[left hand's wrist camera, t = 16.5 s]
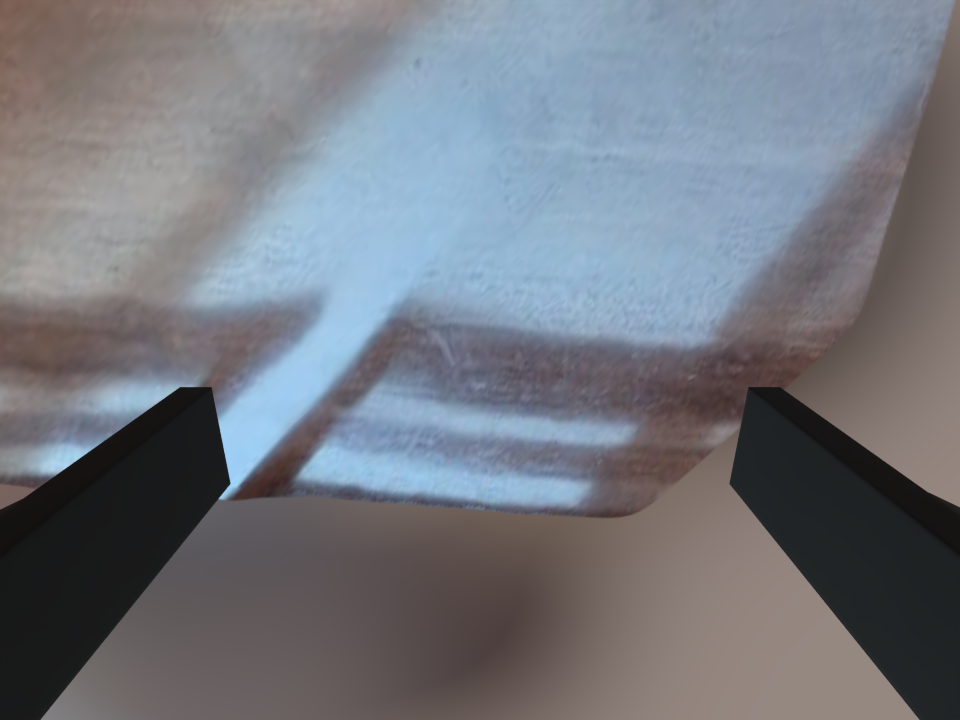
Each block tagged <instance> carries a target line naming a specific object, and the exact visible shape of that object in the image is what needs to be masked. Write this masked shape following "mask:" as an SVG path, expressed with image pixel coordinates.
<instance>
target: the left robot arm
mask: <svg viewBox="0 0 960 720" xmlns="http://www.w3.org/2000/svg"><path fill="white" fill-rule="evenodd" d="M229 485H230V479H229V474H228V469H227V463H226V458H225V453H224V448H223V443H222V438H221V433H220V428H219V423H218V418H217V413H216V408H215V403H214V398H213V393H212V388H211V387H180V388H178V389H177V390H176V391H174V392H173V393H171V394H170V395H168V396H167V397H166V398H164V399H163V400H161V401H160V402H159V403H157V404H156V405H154V406H153V407H152V408H150V409H149V410H147V411H146V412H145V413H143V414H142V415H140V416H139V417H138V418H136V419H135V420H133V421H132V422H131V423H129V424H128V425H126V426H125V427H123V428H122V429H121V430H119V431H118V432H116V433H115V434H114V435H112V436H111V437H109V438H108V439H107V440H105V441H104V442H102V443H101V444H100V445H98V446H97V447H95V448H94V449H93V450H91V451H90V452H88V453H87V454H85V455H84V456H83V457H81V458H80V459H78V460H77V461H76V462H74V463H73V464H71V465H70V466H69V467H67V468H66V469H64V470H63V471H62V472H60V473H59V474H57V475H56V476H55V477H53V478H52V479H50V480H49V481H47V482H46V483H45V484H43V485H42V486H40V487H39V488H38V489H36V490H35V491H33V492H32V493H31V494H29V495H28V496H26V497H25V498H24V499H21V500H19V501H17V502H15V503H13V504H11V505H9V506H7V507H5V508H3V509H1V510H0V720H41V718H42V717H43V716H44V715H45V713H46V712H47V711H48V710H49V708H50V707H51V706H52V705H53V703H54V702H55V701H56V700H57V698H58V697H59V696H60V695H61V693H62V692H63V691H64V690H65V689H66V687H67V686H68V685H69V684H70V682H71V681H72V680H73V679H74V677H75V676H76V675H77V674H78V672H79V671H80V670H81V669H82V667H83V666H84V665H85V664H86V662H87V661H88V660H89V659H90V657H91V656H92V655H93V654H94V653H95V651H96V650H97V649H98V648H99V646H100V645H101V644H102V643H103V641H104V640H105V639H106V638H107V636H108V635H109V634H110V633H111V631H112V630H113V629H114V628H115V626H116V625H117V624H118V623H119V622H120V620H121V619H122V618H123V617H124V615H125V614H126V613H127V612H128V610H129V609H130V608H131V607H132V605H133V604H134V603H135V602H136V600H137V599H138V598H139V597H140V595H141V594H142V593H143V592H144V590H145V589H146V588H147V587H148V586H149V584H150V583H151V582H152V581H153V579H154V578H155V577H156V576H157V574H158V573H159V572H160V571H161V569H162V568H163V567H164V566H165V564H166V563H167V562H168V561H169V559H170V558H171V557H172V556H173V554H174V553H175V552H176V551H177V550H178V548H179V547H180V546H181V544H182V543H183V542H184V541H185V540H186V538H187V537H188V536H189V535H190V533H191V532H192V531H193V530H194V528H195V527H196V526H197V525H198V523H199V522H200V521H201V520H202V518H203V517H204V516H205V515H206V514H207V512H208V511H209V510H210V509H211V507H212V506H213V505H214V504H215V502H216V501H217V500H218V499H219V497H220V496H221V495H222V494H223V492H224V491H225V490H226V489H227V487H228V486H229ZM730 485H731V486H732V487H733V489H734V490H735V491H736V492H737V494H738V495H739V496H740V497H741V499H742V500H743V501H744V502H745V504H746V505H747V506H748V507H749V509H750V510H751V511H752V512H753V513H754V515H755V516H756V517H757V518H758V520H759V521H760V522H761V523H762V525H763V526H764V527H765V528H766V530H767V531H768V532H769V533H770V535H771V536H772V537H773V538H774V540H775V541H776V542H777V543H778V545H779V546H780V547H781V548H782V550H783V551H784V552H785V553H786V554H787V556H788V557H789V558H790V559H791V561H792V562H793V563H794V564H795V566H796V567H797V568H798V569H799V571H800V572H801V573H802V574H803V576H804V577H805V578H806V579H807V581H808V582H809V583H810V584H811V585H812V587H813V588H814V589H815V590H816V592H817V593H818V594H819V595H820V597H821V598H822V599H823V600H824V602H825V603H826V604H827V605H828V607H829V608H830V609H831V610H832V612H833V613H834V614H835V615H836V617H837V618H838V619H839V620H840V622H841V623H842V624H843V625H844V626H845V628H846V629H847V630H848V631H849V633H850V634H851V635H852V636H853V638H854V639H855V640H856V641H857V643H858V644H859V645H860V646H861V648H862V649H863V650H864V651H865V653H866V654H867V655H868V656H869V657H870V659H871V660H872V661H873V662H874V664H875V665H876V666H877V667H878V669H879V670H880V671H881V672H882V674H883V675H884V676H885V677H886V679H887V680H888V681H889V682H890V684H891V685H892V686H893V687H894V688H895V690H896V691H897V692H898V693H899V695H900V696H901V697H902V698H903V700H904V701H905V702H906V703H907V705H908V706H909V707H910V708H911V710H912V711H913V712H914V713H915V715H916V716H917V717H918V718H919V720H960V507H958V506H956V505H954V504H952V503H949V502H947V501H945V500H943V499H941V498H939V497H937V496H935V495H933V494H931V493H928V492H927V491H925V490H924V489H922V488H921V487H920V486H918V485H917V484H915V483H914V482H913V481H911V480H910V479H908V478H907V477H905V476H904V475H903V474H901V473H900V472H898V471H897V470H896V469H894V468H893V467H891V466H890V465H889V464H887V463H886V462H884V461H883V460H882V459H880V458H879V457H877V456H876V455H874V454H873V453H872V452H870V451H869V450H867V449H866V448H865V447H863V446H862V445H860V444H859V443H858V442H856V441H855V440H853V439H852V438H851V437H849V436H848V435H846V434H845V433H844V432H842V431H841V430H839V429H838V428H837V427H835V426H834V425H832V424H831V423H829V422H828V421H827V420H825V419H824V418H822V417H821V416H820V415H818V414H817V413H815V412H814V411H813V410H811V409H810V408H808V407H807V406H806V405H804V404H803V403H801V402H800V401H799V400H797V399H796V398H794V397H793V396H792V395H790V394H789V393H787V392H786V391H784V390H783V389H782V388H780V387H749V388H748V393H747V398H746V403H745V408H744V413H743V418H742V423H741V428H740V433H739V438H738V443H737V448H736V453H735V459H734V464H733V469H732V474H731V479H730Z"/></svg>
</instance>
